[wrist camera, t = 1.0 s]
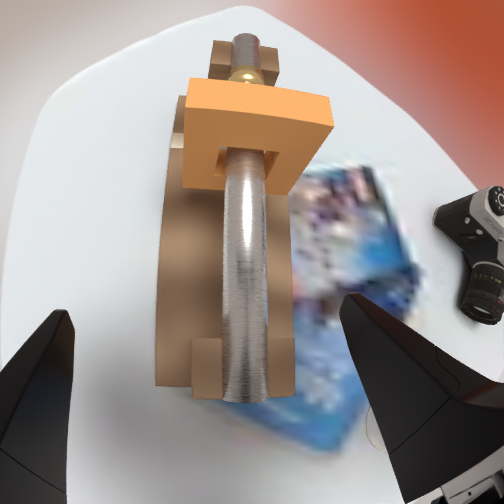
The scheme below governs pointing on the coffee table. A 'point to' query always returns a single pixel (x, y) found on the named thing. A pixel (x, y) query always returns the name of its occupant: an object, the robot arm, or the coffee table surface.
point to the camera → (479, 249)
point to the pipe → (245, 253)
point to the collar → (251, 131)
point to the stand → (215, 270)
